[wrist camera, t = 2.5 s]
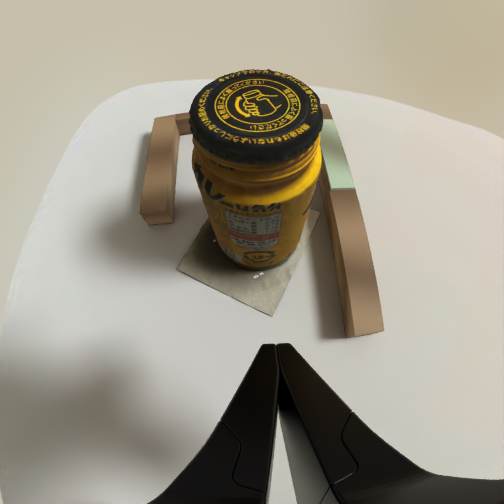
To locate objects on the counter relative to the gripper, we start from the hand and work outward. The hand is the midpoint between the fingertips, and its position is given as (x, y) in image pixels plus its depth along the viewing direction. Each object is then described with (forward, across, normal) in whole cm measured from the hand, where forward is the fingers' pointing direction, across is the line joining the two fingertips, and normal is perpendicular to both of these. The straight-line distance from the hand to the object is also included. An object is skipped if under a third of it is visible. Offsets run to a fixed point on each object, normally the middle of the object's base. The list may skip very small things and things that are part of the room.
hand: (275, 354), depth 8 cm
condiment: (+13, +1, +1) cm, 13 cm away
